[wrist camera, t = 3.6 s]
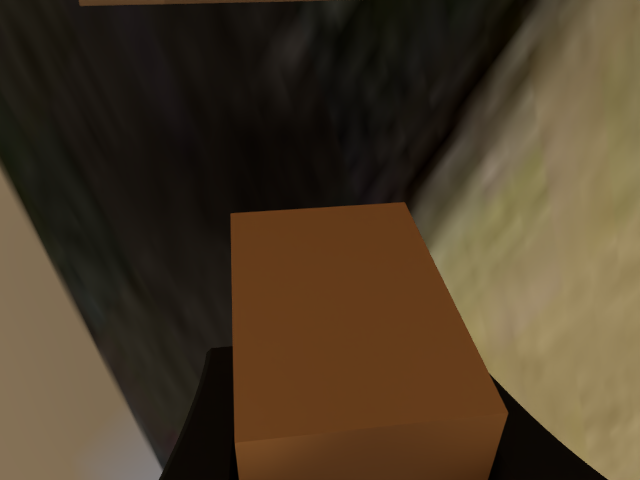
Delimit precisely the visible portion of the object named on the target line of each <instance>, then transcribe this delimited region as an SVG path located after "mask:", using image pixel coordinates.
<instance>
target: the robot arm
mask: <svg viewBox="0 0 640 480" xmlns="http://www.w3.org/2000/svg"><path fill="white" fill-rule="evenodd" d="M489 375H490V374H489ZM490 377H491V379H492V381H493V383H494V385H495V387H496V389H497V391H498V393H499V395H500V397H501V399H502V401H503V403H504V405H505V407H506V409H507V411H508V416H507V419H506V422H505V425H504V429H503V432H502V435H501V438H500V442H499V445H498V448H497V451H496V455H495V458H494V461H493V465H492V468H491V471H490V474H489V478H488V480H608V479H606V478H605V477H604V476H602V475H601V474H600V473H598V472H597V471H596V470H594V469H593V468H592V467H591V466H589V465H588V464H587V463H585V462H584V461H583V460H582V459H580V458H579V457H578V456H577V455H576V454H574V453H573V452H572V451H571V450H569V449H568V448H567V447H566V446H565V445H563V444H562V443H561V442H560V441H559V440H558V439H556V438H555V437H554V436H553V435H552V434H551V433H550V432H549V431H547V430H546V429H545V428H544V427H543V426H542V425H541V424H540V423H539V422H538V421H537V420H535V419H534V418H533V417H532V416H531V415H530V414H529V413H528V412H527V411H526V410H525V409H524V408H523V407H522V406H521V405H520V404H519V403H518V402H517V401H516V400H515V399H514V398H513V397H512V396H511V395H510V394H509V393H508V392H507V391H506V390H505V389H504V388H503V387H502V386H501V385H500V384H499V383H498V382H497V381H496V380H495V379H494V378H493V377H492V376H491V375H490ZM159 480H239V475H238V467H237V458H236V450H235V437H234V380H233V346H230V347H219V348H211V349H210V350H209V351H208V352H207V354H206V360H205V365H204V369H203V372H202V376H201V379H200V383H199V386H198V389H197V392H196V395H195V398H194V401H193V403H192V406H191V408H190V411H189V414H188V416H187V419H186V421H185V424H184V426H183V429H182V431H181V434H180V436H179V438H178V440H177V443H176V445H175V447H174V449H173V451H172V453H171V455H170V458H169V460H168V462H167V464H166V466H165V468H164V470H163V472H162V474H161V477H160V478H159Z"/></svg>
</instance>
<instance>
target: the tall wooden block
mask: <svg viewBox="0 0 640 480" xmlns="http://www.w3.org/2000/svg"><path fill="white" fill-rule="evenodd" d="M231 267H232V323H233V380H234V437H235V450H236V458H237V467H238V475H239V480H488V478H489V474H490V471H491V468H492V465H493V461H494V458H495V455H496V451H497V448H498V445H499V442H500V438H501V435H502V432H503V429H504V425H505V422H506V419H507V416H508V411H507V409H506V407H505V405H504V403H503V401H502V399H501V397H500V395H499V393H498V391H497V389H496V387H495V385H494V383H493V381H492V379H491V377H490V375H489V372H488V370H487V368H486V366H485V364H484V362H483V360H482V358H481V356H480V354H479V352H478V350H477V348H476V346H475V344H474V342H473V340H472V338H471V336H470V334H469V332H468V330H467V328H466V326H465V324H464V322H463V320H462V318H461V316H460V314H459V312H458V310H457V308H456V306H455V304H454V301H453V299H452V297H451V295H450V293H449V291H448V289H447V287H446V285H445V283H444V281H443V279H442V277H441V275H440V273H439V271H438V269H437V267H436V265H435V263H434V261H433V259H432V257H431V255H430V253H429V251H428V249H427V247H426V245H425V243H424V241H423V239H422V237H421V235H420V233H419V231H418V228H417V226H416V224H415V222H414V220H413V218H412V216H411V214H410V212H409V210H408V208H407V206H406V204H405V202H401V203H386V204H370V205H354V206H339V207H323V208H307V209H291V210H276V211H260V212H244V213H231Z"/></svg>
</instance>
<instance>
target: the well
mask: <svg viewBox="0 0 640 480" xmlns="http://www.w3.org/2000/svg"><path fill="white" fill-rule="evenodd" d="M282 1H328V0H79V4H80V6H97V5H143V4H189V3H236V2H282Z"/></svg>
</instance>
